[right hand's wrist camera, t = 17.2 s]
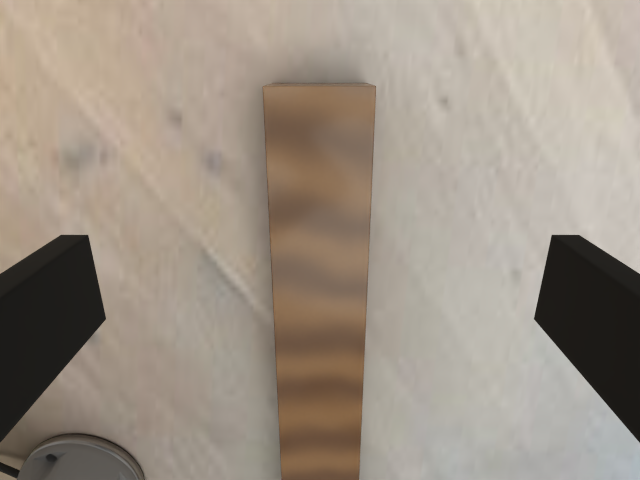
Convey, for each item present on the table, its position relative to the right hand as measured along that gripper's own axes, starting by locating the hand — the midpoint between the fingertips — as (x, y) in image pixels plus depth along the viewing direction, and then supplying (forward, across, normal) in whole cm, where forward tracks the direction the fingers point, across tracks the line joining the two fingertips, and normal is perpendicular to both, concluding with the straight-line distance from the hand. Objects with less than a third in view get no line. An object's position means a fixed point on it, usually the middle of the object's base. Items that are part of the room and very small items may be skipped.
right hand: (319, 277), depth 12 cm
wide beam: (+30, 0, -31) cm, 43 cm away
